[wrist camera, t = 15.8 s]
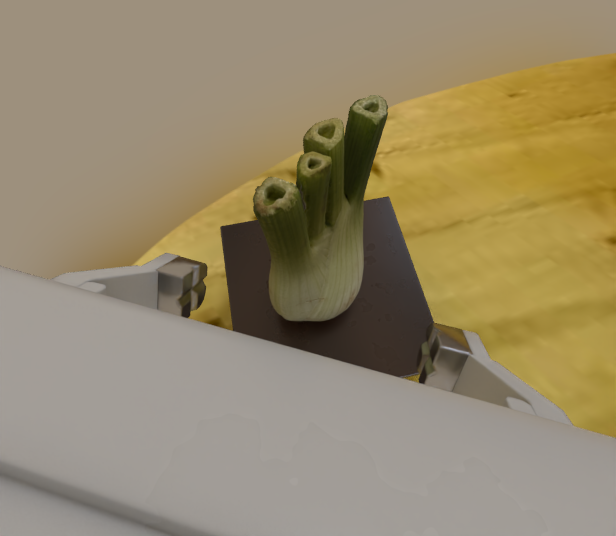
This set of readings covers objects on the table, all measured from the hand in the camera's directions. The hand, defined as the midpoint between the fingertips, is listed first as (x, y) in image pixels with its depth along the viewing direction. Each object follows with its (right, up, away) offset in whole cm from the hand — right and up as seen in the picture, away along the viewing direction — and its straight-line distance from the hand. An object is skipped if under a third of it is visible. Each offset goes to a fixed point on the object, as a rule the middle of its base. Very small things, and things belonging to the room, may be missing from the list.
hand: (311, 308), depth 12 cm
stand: (+1, -3, +17) cm, 17 cm away
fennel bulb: (0, 0, +9) cm, 9 cm away
